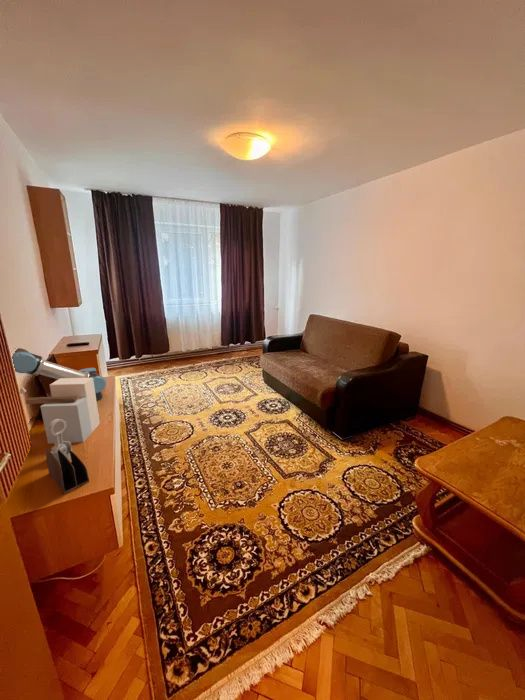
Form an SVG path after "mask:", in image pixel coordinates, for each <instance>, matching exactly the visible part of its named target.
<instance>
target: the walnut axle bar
mask: <svg viewBox="0 0 525 700" xmlns="http://www.w3.org/2000/svg"><path fill="white" fill-rule="evenodd" d="M76 401H77V396H66V397H52V396H39V397H38V396H36V397H34V396H33V397H27V398H26V399H25V404H26V405H32V404H33V405H34V404H36V405H38V404H41V405H42V404H45V403H74V402H76Z"/></svg>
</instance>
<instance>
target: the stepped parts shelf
mask: <svg viewBox="0 0 525 700" xmlns="http://www.w3.org/2000/svg"><path fill="white" fill-rule="evenodd" d="M49 390H50V395H51V397H66V396H77V401H76V402H74V403H42V404H41V405H40V406H39V407H40V411H41V416H42V421H43V427H44V430H45V435H46V440H47V444H49V445H50V444H54V436H52V435H50V436H48V431H47V429H48V427H49V425H50V423H51V422H52V421H53V420H55V419H62V420H64V421H66V428H65V430H64V432H63V433H62V438H63V441H69V442H71V444H72V443H84V442H85V440H87V438H89V436H90V435H91V434H92V433H93V432H94V431H95V429H97V427H98V426H99V425H100V424H101V422H100V416H99V410H98V408H99V407H98V401H96V394H95V388H94V381H93V378H60V379H56V380H55V381H54V382H52V383H50V384H49ZM60 428H61V423H60V422H57V423H56V424H55V425H54V427H53V432H54V433H57V432H58V431H59V430H60Z"/></svg>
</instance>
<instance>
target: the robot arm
mask: <svg viewBox="0 0 525 700" xmlns="http://www.w3.org/2000/svg"><path fill="white" fill-rule="evenodd" d="M17 348H18V349H17V350H16V351H15V353H14V354H13V356H12V359H13V364H14V368H15V371H14V372H16V373H18V374H28V375H32V376H33V375H35V374H36V375H37V374H38V375H41V376H44V377H48V378H53V379H55V380H58V379H60V378H93V381H94V388H95V394H96V401H97V402H98V401H101V400H102V399H103V397H104V395H103V393H102V391H104V390H105V388H106V386H107V380H106V379H105V378H104V376H102V375H100V374H99V373H97V369H96V368H95V367H86V368H82V369H79V370H77V369H74V368H70V367H67V366H64V365H61V364H58V363H54V362H52V361H49V360H44V358H43V356H41V355H38V354H35V353H32V352H30V351H28V350H26V349H25V348H19V347H17ZM26 392H27V390H26V389H25V388H24V387H21V388H20V393H21V395H23V394H24V393H26Z"/></svg>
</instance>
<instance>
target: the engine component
mask: <svg viewBox="0 0 525 700" xmlns="http://www.w3.org/2000/svg"><path fill="white" fill-rule="evenodd" d="M57 422H60V423H61V428H60V430H59V431H58V432H57V433H54V432H53V427H54V425H55V424H56V423H57ZM65 428H66V421H64V420H62V419H55V420H53V421H52V422H51V423H50V425H49V427H48V429H47V431H48V436H50V435H52V436H54V443H53V444H54V446H52V447H51V448H50V450H51V451H50V452H51V453H52V454H53V456H54V457H55V458H56V460H57V461H58V463H59V464H60V461H59V456H58V450H60V451H61V452H62V453H63V454H64V455H65V456H66V457H67V459H68V460H69V461H70V460H71V456H70V452H69V451H70V450H71V451H72V452H73V448H72V447H73V446H72V443H71V442H69V441H63V438H62V433H63V432H64V430H65Z"/></svg>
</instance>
